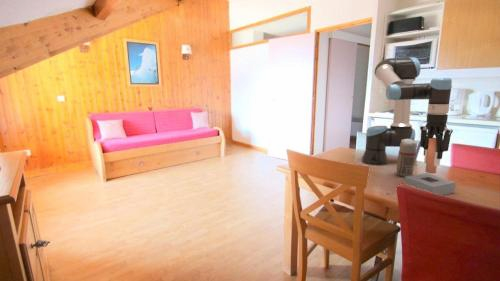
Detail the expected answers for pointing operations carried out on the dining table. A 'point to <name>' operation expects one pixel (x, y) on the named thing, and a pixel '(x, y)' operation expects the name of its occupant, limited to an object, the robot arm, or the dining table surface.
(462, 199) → the dining table surface
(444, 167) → the dining table surface
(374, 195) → the dining table surface
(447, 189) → the socket block
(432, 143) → the dowel
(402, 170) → the spray can
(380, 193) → the dining table surface
